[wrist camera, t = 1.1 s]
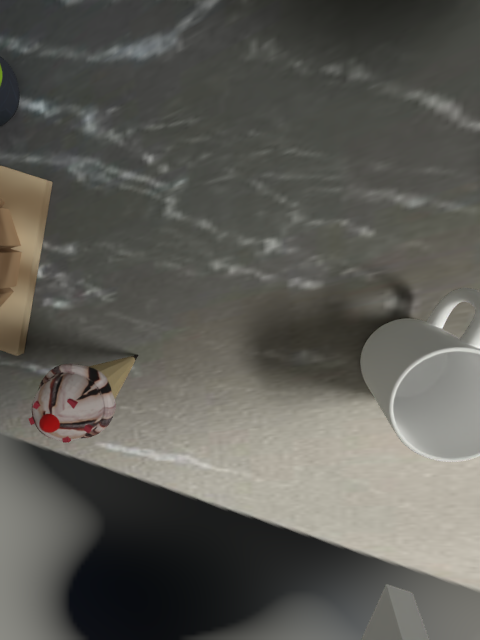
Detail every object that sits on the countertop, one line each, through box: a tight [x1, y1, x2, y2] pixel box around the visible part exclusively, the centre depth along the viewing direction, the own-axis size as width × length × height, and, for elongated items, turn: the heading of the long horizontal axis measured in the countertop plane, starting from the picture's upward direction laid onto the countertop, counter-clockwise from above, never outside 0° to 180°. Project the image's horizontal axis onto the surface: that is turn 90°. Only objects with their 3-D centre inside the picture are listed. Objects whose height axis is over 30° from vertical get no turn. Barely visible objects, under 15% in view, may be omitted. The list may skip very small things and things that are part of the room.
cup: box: [360, 288, 480, 462], centre depth 28 cm, size 8×12×10 cm
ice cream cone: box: [29, 355, 138, 442], centre depth 29 cm, size 6×6×15 cm
